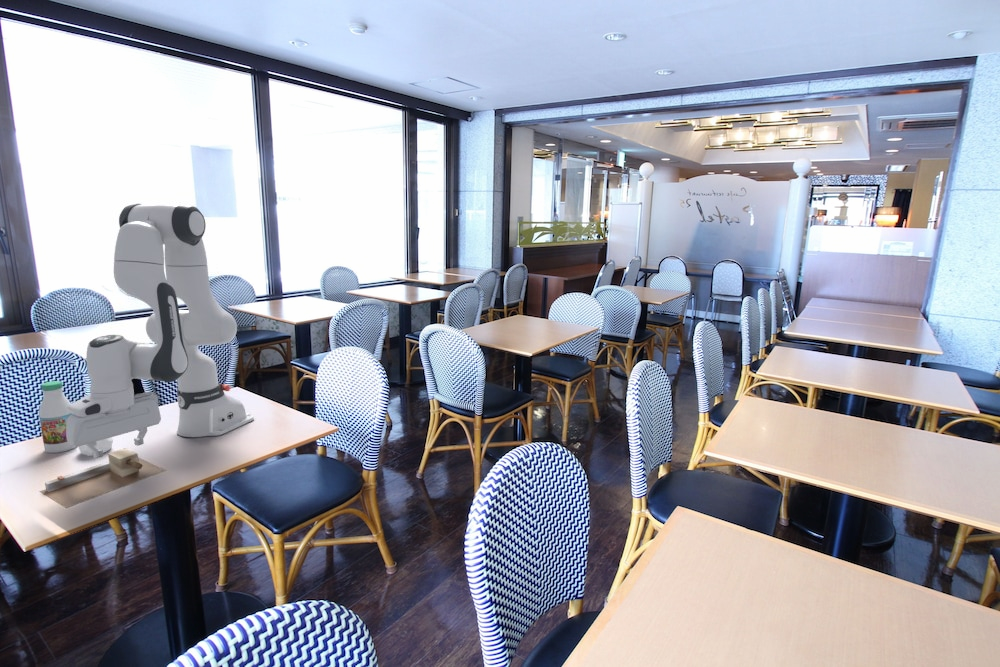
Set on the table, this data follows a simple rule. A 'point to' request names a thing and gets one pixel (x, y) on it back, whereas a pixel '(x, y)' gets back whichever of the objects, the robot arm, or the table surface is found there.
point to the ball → (97, 447)
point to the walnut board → (94, 483)
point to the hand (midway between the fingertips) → (119, 450)
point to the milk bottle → (54, 418)
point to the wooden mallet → (124, 462)
